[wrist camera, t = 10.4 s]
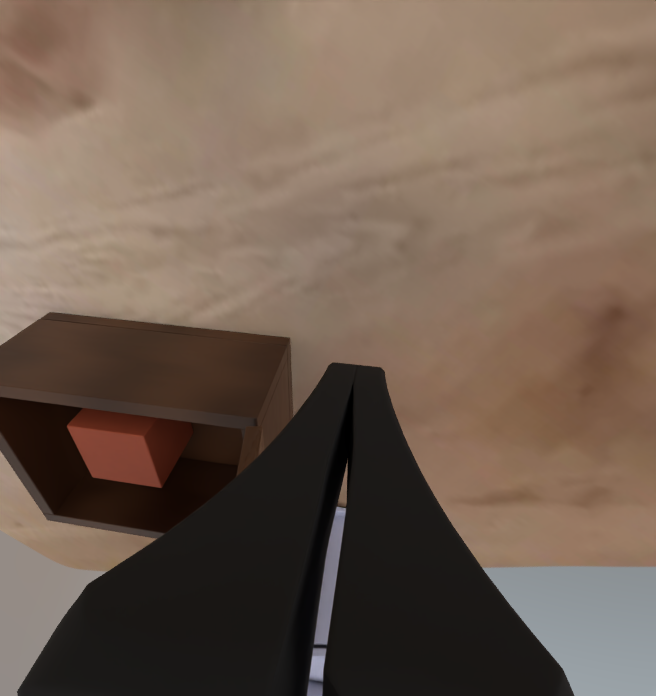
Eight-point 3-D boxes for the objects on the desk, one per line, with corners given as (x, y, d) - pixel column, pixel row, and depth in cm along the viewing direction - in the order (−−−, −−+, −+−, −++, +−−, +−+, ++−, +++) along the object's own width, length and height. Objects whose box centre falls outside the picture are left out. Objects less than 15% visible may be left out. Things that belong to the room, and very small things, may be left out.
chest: (107, 444, 30) (47, 520, 25) (49, 311, 23) (-49, 378, 18) (294, 471, 28) (272, 558, 23) (290, 337, 22) (256, 418, 17)
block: (194, 432, 26) (161, 488, 23) (132, 424, 27) (91, 477, 23) (181, 382, 24) (143, 436, 20) (114, 374, 24) (65, 425, 21)
